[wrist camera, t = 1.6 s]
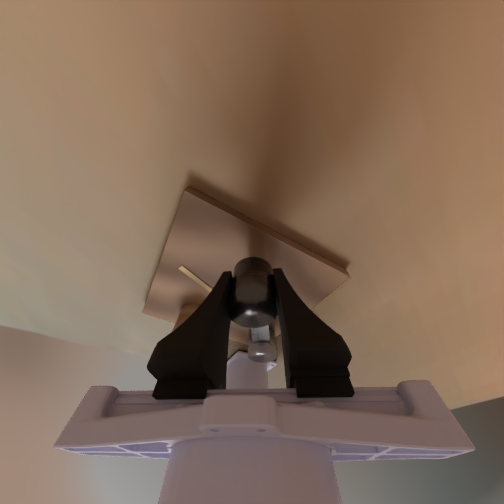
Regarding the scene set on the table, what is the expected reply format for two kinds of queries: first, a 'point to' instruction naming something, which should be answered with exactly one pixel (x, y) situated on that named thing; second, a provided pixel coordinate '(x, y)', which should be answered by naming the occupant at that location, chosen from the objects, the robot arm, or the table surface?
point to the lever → (255, 306)
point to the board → (229, 260)
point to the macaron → (185, 314)
